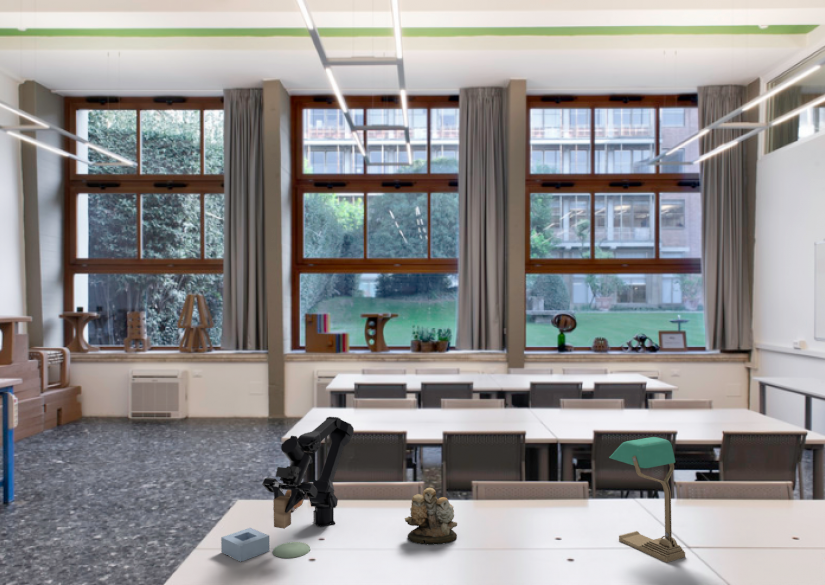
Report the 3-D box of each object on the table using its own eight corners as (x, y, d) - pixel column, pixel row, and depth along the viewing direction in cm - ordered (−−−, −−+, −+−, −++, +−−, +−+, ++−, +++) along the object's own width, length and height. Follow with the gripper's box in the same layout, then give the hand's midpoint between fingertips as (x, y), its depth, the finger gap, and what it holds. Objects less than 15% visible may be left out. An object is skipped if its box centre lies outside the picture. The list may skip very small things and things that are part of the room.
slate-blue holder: (250, 542, 209) (250, 527, 209) (269, 550, 202) (269, 535, 202) (221, 552, 201) (221, 537, 201) (240, 561, 194) (240, 546, 194)
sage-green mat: (304, 540, 210) (304, 539, 210) (314, 553, 199) (314, 552, 199) (269, 547, 205) (269, 546, 205) (278, 561, 194) (278, 559, 194)
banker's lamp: (658, 565, 188) (656, 450, 188) (607, 541, 207) (606, 437, 207) (693, 554, 195) (691, 444, 196) (641, 532, 214) (639, 432, 214)
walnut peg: (280, 522, 204) (280, 495, 204) (291, 524, 203) (290, 496, 203) (273, 527, 200) (273, 499, 200) (284, 528, 199) (283, 500, 199)
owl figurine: (406, 546, 204) (405, 495, 205) (403, 533, 216) (402, 484, 217) (459, 543, 206) (458, 492, 206) (454, 530, 218) (453, 482, 218)
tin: (290, 514, 236) (290, 492, 236) (283, 513, 237) (282, 491, 237) (305, 501, 251) (305, 480, 251) (298, 501, 252) (297, 480, 252)
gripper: (264, 453, 209) (245, 496, 198) (312, 458, 202) (294, 503, 191) (278, 470, 216) (260, 512, 206) (325, 475, 209) (308, 519, 199)
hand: (280, 511), depth 200 cm, fingers closed on walnut peg, 4 cm apart
